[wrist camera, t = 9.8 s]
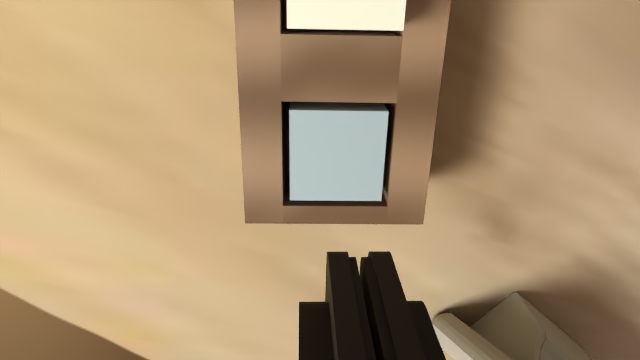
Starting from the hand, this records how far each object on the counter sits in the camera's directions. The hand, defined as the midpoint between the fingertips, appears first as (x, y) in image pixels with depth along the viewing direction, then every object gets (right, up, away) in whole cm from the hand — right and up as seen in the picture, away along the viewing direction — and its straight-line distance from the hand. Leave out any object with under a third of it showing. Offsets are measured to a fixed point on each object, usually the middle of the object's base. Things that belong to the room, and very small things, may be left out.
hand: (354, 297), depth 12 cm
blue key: (0, +6, +15) cm, 16 cm away
